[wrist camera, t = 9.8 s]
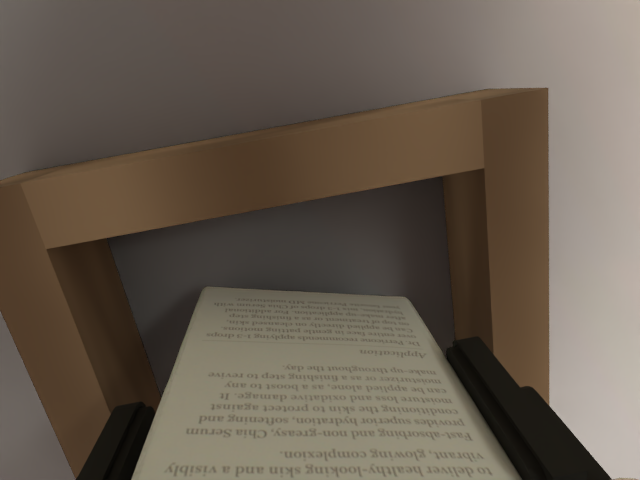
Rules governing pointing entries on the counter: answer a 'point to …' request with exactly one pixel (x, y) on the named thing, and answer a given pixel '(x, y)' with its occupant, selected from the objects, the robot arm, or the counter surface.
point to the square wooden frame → (265, 192)
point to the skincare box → (315, 395)
